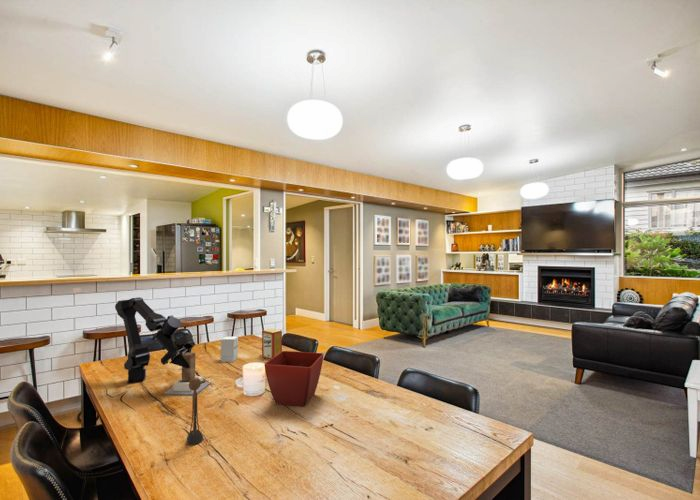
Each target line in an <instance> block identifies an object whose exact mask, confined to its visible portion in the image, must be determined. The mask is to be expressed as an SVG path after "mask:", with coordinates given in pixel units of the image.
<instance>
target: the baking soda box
mask: <svg viewBox="0 0 700 500" xmlns="http://www.w3.org/2000/svg"><path fill="white" fill-rule="evenodd" d="M282 351H283V330H279V329H276V328H268V329H262V330H261V358H262V359H265V358H266V360H268V359H269V360H271V359H272V358H273V357H275V356H276V355H277V354H279V353H280V352H282ZM269 360H268V361H269Z"/></svg>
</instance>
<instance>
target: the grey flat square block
mask: <svg viewBox="0 0 700 500" xmlns="http://www.w3.org/2000/svg"><path fill="white" fill-rule="evenodd" d="M203 377H204V376H199V375H198V376H196V375H195V378H199V379H200V380H204V378H203ZM210 385H212V381H206V382H205V383H202V384H201V385H200V387H199V389H197V390H196V392H197V393H198V394H199V393H201V392H202V391H203V390H205V389H206V388H207V387H209V386H210ZM192 393H194V390H190V388H189V382H182V377H181V378H180V379H178V380H176V381H175V382H173V387H171V388H169V389H168V390H166V391H165V392H164V393H163V395H165V396H166V395H168V396H173V395H174V396H192Z"/></svg>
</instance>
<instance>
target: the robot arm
mask: <svg viewBox="0 0 700 500" xmlns="http://www.w3.org/2000/svg"><path fill="white" fill-rule="evenodd" d="M114 308H115V311H116V314H117V315H118V316H119V317H120V318H121V319H122V320H123V323H124V324H123V325H124V328H125V329H124V330H125V332H126V337H127V341H128V345H129V350H128V352H127V359H126V361H125V362H124V364H123V368H124V370H125V371H126V370H127V372H128V373H127V382H126V383H127V384H132V383H142V382H144V380H145V379H146V378H147V368H146V367H147V366H149V365H150V360H151V359H150V358H151V354H150V352H149V347H148V346H145V345H143V342H142V339H141V334H140V331H139V326H138V322H137V319H136V314H137V313H138V314H139V315H140V316H141V318H143V319H144V321H145V326H146V328H147V329H148V331H149V332H155V333H153V334H152V341H153V342H154V341H157V342H158V343H160V345H162V348H161V349H162V350H163V351H164V350H166V351H167V352H166V353H165V354H164V355H163V356H162V357H161V358H160V363H161V364H162V365H163V366H165V365H167V364H168V363H169V364H170V365H171V364H173V365H175V366H179V367H181V368H182V367H184V368H187V369H188V368H189V367H190V366H189V365H188V363H187V362H186V361H185V359H184V358H183V354H185V353H192V349H193V348H194V347H195V345H196V343H195V342H194V341H193V339H192V338H193V334H192V333H191V332H185V333H184V334H183V336H182V337H179V336H174V334H175V333H176V332H177V331H178V330H179V328H180V327H181V325H182V321H181V319H179V318H177V317H174V315H168V316H167V317H165V316H164V315H162V314H160V313H156V312H155V311H154V310H153V309H152V308H151V307H150V306H149V305H148V304H147V303H146V302H145V300H144V299H143V298H142V297H132V298H130V299H122V300H118V301H117V302H116V303H115V305H114ZM169 361H170V362H169Z"/></svg>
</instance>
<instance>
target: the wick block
mask: <svg viewBox="0 0 700 500" xmlns="http://www.w3.org/2000/svg"><path fill="white" fill-rule="evenodd" d="M183 358H184V359H185V361H186V362H187V363H188V365H189V366H190V367H189V368H188V369H187V368H184V367H182V366H181V378H182V382H190V381H191V380H192V379H193V378H195V376H196V352H191V353H185V354H183Z"/></svg>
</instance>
